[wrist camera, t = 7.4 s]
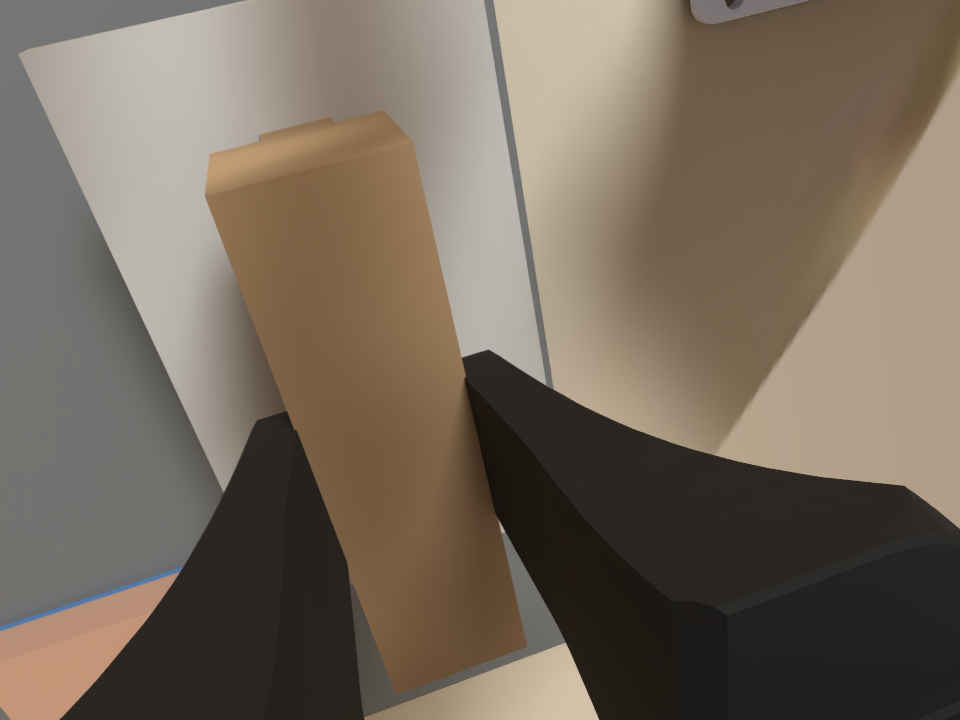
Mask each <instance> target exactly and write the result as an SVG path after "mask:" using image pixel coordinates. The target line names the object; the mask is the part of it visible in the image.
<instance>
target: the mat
mask: <svg viewBox="0 0 960 720" xmlns="http://www.w3.org/2000/svg"><path fill="white" fill-rule="evenodd" d="M241 1H245V0H0V627H1V626H4V625H7V624H10V623H14V622H17V621H20V620H23V619H26V618H29V617H32V616H35V615H38V614H41V613H44V612H47V611H50V610H53V609H56V608H59V607H62V606H65V605H68V604H71V603H74V602H77V601H80V600H83V599H86V598H89V597H92V596H96V595H99V594H102V593H105V592H108V591H111V590H114V589H117V588H120V587H123V586H126V585H129V584H132V583H135V582H138V581H141V580H144V579H147V578H150V577H153V576H156V575H159V574H162V573H165V572H168V571H171V570H174V569H178V568H181V567H183V566H184V565H185V563H186V562H187V560H188V558H189V556H190V555H191V553H192V551H193V549H194V548H195V546H196V544H197V542H198V541H199V539H200V537H201V535H202V534H203V532H204V530H205V528H206V527H207V525H208V523H209V521H210V519H211V517H212V516H213V514H214V512H215V510H216V508H217V506H218V504H219V501H220V499H221V497H222V495H223V493H224V492H223V490H222V488H221V486H220V484H219V482H218V479H217V477H216V475H215V473H214V471H213V469H212V467H211V465H210V462H209V460H208V458H207V456H206V454H205V452H204V450H203V447H202V445H201V443H200V441H199V439H198V437H197V435H196V433H195V430H194V428H193V426H192V424H191V422H190V420H189V418H188V415H187V413H186V411H185V409H184V407H183V405H182V403H181V401H180V398H179V396H178V394H177V392H176V390H175V388H174V386H173V383H172V381H171V379H170V377H169V375H168V373H167V371H166V368H165V366H164V364H163V362H162V360H161V358H160V356H159V354H158V351H157V349H156V347H155V345H154V343H153V341H152V339H151V336H150V334H149V332H148V330H147V328H146V326H145V324H144V322H143V319H142V317H141V315H140V313H139V311H138V309H137V307H136V304H135V302H134V300H133V298H132V296H131V294H130V292H129V290H128V287H127V285H126V283H125V281H124V279H123V277H122V275H121V272H120V270H119V268H118V266H117V264H116V262H115V260H114V258H113V255H112V253H111V251H110V249H109V247H108V245H107V243H106V240H105V238H104V236H103V234H102V232H101V230H100V228H99V225H98V223H97V221H96V219H95V217H94V215H93V213H92V211H91V208H90V206H89V204H88V202H87V200H86V198H85V196H84V193H83V191H82V189H81V187H80V185H79V183H78V181H77V179H76V176H75V174H74V172H73V170H72V168H71V166H70V164H69V161H68V159H67V157H66V155H65V153H64V151H63V149H62V147H61V144H60V142H59V140H58V138H57V136H56V134H55V132H54V129H53V127H52V125H51V123H50V121H49V119H48V117H47V115H46V112H45V110H44V108H43V106H42V104H41V102H40V100H39V97H38V95H37V93H36V91H35V89H34V87H33V85H32V82H31V80H30V78H29V76H28V74H27V72H26V70H25V68H24V65H23V63H22V61H21V59H20V57H19V55H18V54H19V53H21V52H23V51H25V50H27V49H31V48H36V47H40V46H45V45H49V44H54V43H58V42H62V41H67V40H71V39H76V38H80V37H85V36H89V35H94V34H98V33H103V32H107V31H112V30H116V29H121V28H125V27H129V26H134V25H138V24H143V23H147V22H152V21H156V20H161V19H165V18H170V17H174V16H179V15H183V14H187V13H192V12H196V11H201V10H205V9H210V8H214V7H219V6H223V5H228V4H232V3H237V2H241ZM484 4H485V10H486V16H487V22H488V28H489V34H490V41H491V47H492V53H493V59H494V65H495V71H496V77H497V84H498V90H499V96H500V102H501V108H502V114H503V121H504V127H505V133H506V139H507V145H508V151H509V157H510V164H511V170H512V176H513V182H514V188H515V194H516V200H517V207H518V213H519V219H520V225H521V231H522V237H523V244H524V250H525V256H526V262H527V268H528V274H529V280H530V287H531V293H532V299H533V305H534V311H535V317H536V324H537V330H538V336H539V342H540V348H541V354H542V360H543V367H544V373H545V379H546V385H547V386H548V387H550V388H551V389H553V383H552V376H551V370H550V363H549V357H548V351H547V344H546V338H545V331H544V325H543V318H542V312H541V305H540V299H539V293H538V286H537V280H536V273H535V267H534V260H533V254H532V247H531V241H530V234H529V228H528V222H527V215H526V209H525V202H524V196H523V189H522V183H521V176H520V170H519V164H518V157H517V151H516V144H515V138H514V131H513V125H512V118H511V112H510V105H509V99H508V93H507V86H506V80H505V73H504V67H503V60H502V54H501V47H500V41H499V35H498V28H497V22H496V15H495V9H494V2H493V0H484ZM553 390H554V389H553ZM502 537H503V542H504V546H505V551H506V555H507V559H508V564H509V568H510V573H511V577H512V581H513V586H514V590H515V595H516V599H517V603H518V608H519V612H520V617H521V621H522V625H523V630H524V634H525V639H526V643H527V647H525V648H523V649H520V650H517V651H515V652H512V653H509V654H506V655H504V656H501V657H498V658H496V659H493V660H490V661H487V662H485V663H482V664H479V665H477V666H474V667H471V668H468V669H466V670H463V671H460V672H458V673H455V674H452V675H449V676H447V677H444V678H441V679H439V680H436V681H433V682H430V683H428V684H425V685H422V686H420V687H417V688H414V689H412V690H409V691H406V692H403V693H401V694H398V695H396V694H395V691H394V689H393V686H392V683H391V681H390V678H389V676H388V673H387V670H386V668H385V665H384V663H383V660H382V657H381V655H380V652H379V650H378V647H377V644H376V642H375V639H374V636H373V634H372V631H371V629H370V626H369V623H368V621H367V618H366V616H365V613H364V610H363V608H362V605H361V603H360V600H359V597H358V595H357V592H356V590H355V587H354V584H353V585H350V590H351V600H352V610H353V621H354V631H355V641H356V652H357V662H358V672H359V683H360V693H361V701H362V708H363V715H364V717H366V716H369V715H371V714H374V713H377V712H379V711H382V710H385V709H387V708H390V707H393V706H396V705H398V704H401V703H404V702H406V701H409V700H412V699H414V698H417V697H420V696H423V695H425V694H428V693H431V692H433V691H436V690H439V689H441V688H444V687H447V686H449V685H452V684H455V683H458V682H460V681H463V680H466V679H468V678H471V677H474V676H476V675H479V674H482V673H485V672H487V671H490V670H493V669H495V668H498V667H501V666H503V665H506V664H509V663H511V662H514V661H517V660H520V659H522V658H525V657H528V656H530V655H533V654H536V653H538V652H541V651H544V650H547V649H549V648H552V647H555V646H557V645H560V644H563V643H565V640H564V638H563V636H562V634H561V632H560V630H559V628H558V626H557V624H556V622H555V620H554V618H553V617H552V615H551V613H550V611H549V610H548V608H547V606H546V604H545V602H544V601H543V599H542V597H541V595H540V593H539V592H538V590H537V588H536V586H535V584H534V583H533V581H532V579H531V577H530V576H529V574H528V572H527V570H526V568H525V567H524V565H523V563H522V561H521V559H520V558H519V556H518V554H517V552H516V550H515V549H514V547H513V545H512V543H511V541H510V540H509V538H508V536H507V534H506V532H504V533H502ZM0 720H11V719H10V718H9V717H8V716H7V714H6V713H5V712H4V711H3V710H2V708H1V707H0Z"/></svg>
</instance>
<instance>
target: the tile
mask: <svg viewBox="0 0 960 720" xmlns="http://www.w3.org/2000/svg"><path fill="white" fill-rule="evenodd" d="M182 568H183V567H181V568H178V569H174V570H171V571H168V572H165V573H162V574H159V575H156V576H153V577H150V578H147V579H144V580H141V581H138V582H135V583H132V584H129V585H126V586H123V587H120V588H117V589H114V590H111V591H108V592H105V593H102V594H99V595H96V596H92V597H89V598H86V599H83V600H80V601H77V602H74V603H71V604H68V605H65V606H62V607H59V608H56V609H53V610H50V611H47V612H44V613H41V614H38V615H35V616H32V617H29V618H26V619H23V620H20V621H17V622H14V623H10V624H7V625H4V626H1V627H0V707H1V708H2V710H3V711H4V712H5V713H6V714H7V716H8V717H9V718H10V719H11V720H59V719H60V718H61V717H62V716H63V715H64V714H65V713H66V712H67V711H68V710H69V709H70V708H71V707H72V706H73V705H74V704H75V703H76V702H77V701H78V700H79V698H80V697H81V696H82V695H83V694H84V693H85V692H86V691H87V690H88V689H89V688H90V687H91V686H92V684H93V683H94V682H95V681H96V680H97V679H98V678H99V677H100V675H101V674H102V673H103V672H104V671H105V669H106V668H107V667H108V666H109V665H110V663H111V662H112V661H113V660H114V659H115V657H116V656H117V655H118V654H119V653H120V651H121V650H122V649H123V648H124V647H125V645H126V644H127V643H128V642H129V641H130V639H131V638H132V637H133V636H134V635H135V633H136V632H137V631H138V630H139V629H140V627H141V626H142V625H143V624H144V622H145V621H146V620H147V618H148V617H149V616H150V615H151V613H152V612H153V610H154V609H155V608H156V606H157V605H158V603H159V602H160V601H161V599H162V598H163V596H164V595H165V594H166V592H167V591H168V589H169V588H170V587H171V585H172V584H173V582H174V581H175V579H176V578H177V576H178V574H179V573H180V571H181V570H182Z"/></svg>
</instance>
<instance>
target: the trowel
mask: <svg viewBox="0 0 960 720" xmlns="http://www.w3.org/2000/svg"><path fill="white" fill-rule="evenodd" d="M18 55H19V57H20V59H21V61H22V63H23V65H24V68H25V70H26V72H27V74H28V76H29V78H30V80H31V82H32V85H33V87H34V89H35V91H36V93H37V95H38V97H39V100H40V102H41V104H42V106H43V108H44V110H45V112H46V115H47V117H48V119H49V121H50V123H51V125H52V127H53V129H54V132H55V134H56V136H57V138H58V140H59V142H60V144H61V147H62V149H63V151H64V153H65V155H66V157H67V159H68V161H69V164H70V166H71V168H72V170H73V172H74V174H75V176H76V179H77V181H78V183H79V185H80V187H81V189H82V191H83V193H84V196H85V198H86V200H87V202H88V204H89V206H90V208H91V211H92V213H93V215H94V217H95V219H96V221H97V223H98V225H99V228H100V230H101V232H102V234H103V236H104V238H105V240H106V243H107V245H108V247H109V249H110V251H111V253H112V255H113V258H114V260H115V262H116V264H117V266H118V268H119V270H120V272H121V275H122V277H123V279H124V281H125V283H126V285H127V287H128V290H129V292H130V294H131V296H132V298H133V300H134V302H135V304H136V307H137V309H138V311H139V313H140V315H141V317H142V319H143V322H144V324H145V326H146V328H147V330H148V332H149V334H150V336H151V339H152V341H153V343H154V345H155V347H156V349H157V351H158V354H159V356H160V358H161V360H162V362H163V364H164V366H165V368H166V371H167V373H168V375H169V377H170V379H171V381H172V383H173V386H174V388H175V390H176V392H177V394H178V396H179V398H180V401H181V403H182V405H183V407H184V409H185V411H186V413H187V415H188V418H189V420H190V422H191V424H192V426H193V428H194V430H195V433H196V435H197V437H198V439H199V441H200V443H201V445H202V447H203V450H204V452H205V454H206V456H207V458H208V460H209V462H210V465H211V467H212V469H213V471H214V473H215V475H216V477H217V479H218V482H219V484H220V486H221V488H222V490H223V492H224V491H225V489H226V487H227V485H228V483H229V481H230V479H231V477H232V474H233V472H234V470H235V468H236V466H237V463H238V461H239V459H240V456H241V454H242V452H243V449H244V447H245V445H246V442H247V440H248V437H249V435H250V432H251V430H252V428H253V426H254V425H255V423H256V421H257V420H259V419H262V418H266V417H269V416H272V415H275V414H279V413H282V412H285V411H287V412H288V415H289V417H290V420H291V423H292V425H293V428H294V430H297V432H298V435H299V437H300V440H301V443H302V445H303V448H304V451H305V453H306V456H307V458H308V461H309V464H310V466H311V469H312V472H313V474H314V477H315V479H316V482H317V485H318V487H319V490H320V493H321V495H322V498H323V500H324V503H325V506H326V508H327V511H328V514H329V516H330V519H331V521H332V524H333V527H334V529H335V532H336V535H337V537H338V540H339V542H340V545H341V548H342V550H343V553H344V555H345V558H346V561H347V563H348V571H349V581H350V585H353V584H354V587H355V590H356V592H357V595H358V597H359V600H360V603H361V605H362V608H363V610H364V613H365V616H366V618H367V621H368V623H369V626H370V629H371V631H372V634H373V636H374V639H375V642H376V644H377V647H378V650H379V652H380V655H381V657H382V660H383V663H384V665H385V668H386V670H387V673H388V676H389V678H390V681H391V683H392V686H393V689H394V691H395V694H396V695H398V694H401V693H403V692H406V691H409V690H412V689H414V688H417V687H420V686H422V685H425V684H428V683H430V682H433V681H436V680H439V679H441V678H444V677H447V676H449V675H452V674H455V673H458V672H460V671H463V670H466V669H468V668H471V667H474V666H477V665H479V664H482V663H485V662H487V661H490V660H493V659H496V658H498V657H501V656H504V655H506V654H509V653H512V652H515V651H517V650H520V649H523V648H525V647H527V643H526V639H525V634H524V630H523V625H522V621H521V617H520V612H519V608H518V603H517V599H516V595H515V590H514V586H513V581H512V577H511V573H510V568H509V564H508V559H507V555H506V551H505V546H504V542H503V537H502V533H504V532H505V531H504V529H503V527H502V525H501V523H500V521H499V520H498V518H497V516H496V514H495V510H494V506H493V501H492V497H491V492H490V488H489V484H488V479H487V475H486V471H485V466H484V462H483V457H482V453H481V449H480V444H479V440H478V435H477V431H476V427H475V422H474V418H473V414H472V409H471V405H470V400H469V396H468V392H467V387H466V383H465V379H464V378H465V377H466V374H465V370H464V365H463V361H462V357H465V356H469V355H472V354H475V353H478V352H482V351H485V350H488V349H489V350H491V351H492V352H494V353H496V354H497V355H499V356H501V357H502V358H504V359H505V360H507V361H508V362H510V363H511V364H513V365H514V366H516V367H517V368H519V369H521V370H522V371H524V372H525V373H527V374H528V375H530V376H532V377H533V378H535V379H536V380H538V381H540V382H541V383H543V384H545V385H546V379H545V373H544V367H543V360H542V354H541V348H540V342H539V336H538V330H537V324H536V317H535V311H534V305H533V299H532V293H531V287H530V280H529V274H528V268H527V262H526V256H525V250H524V244H523V237H522V231H521V225H520V219H519V213H518V207H517V200H516V194H515V188H514V182H513V176H512V170H511V164H510V157H509V151H508V145H507V139H506V133H505V127H504V121H503V114H502V108H501V102H500V96H499V90H498V84H497V77H496V71H495V65H494V59H493V53H492V47H491V41H490V34H489V28H488V22H487V16H486V10H485V4H484V0H245V1H241V2H237V3H232V4H228V5H223V6H219V7H214V8H210V9H205V10H201V11H196V12H192V13H187V14H183V15H179V16H174V17H170V18H165V19H161V20H156V21H152V22H147V23H143V24H138V25H134V26H129V27H125V28H121V29H116V30H112V31H107V32H103V33H98V34H94V35H89V36H85V37H80V38H76V39H71V40H67V41H62V42H58V43H54V44H49V45H45V46H40V47H36V48H31V49H27V50H25V51H23V52H21V53H19V54H18ZM546 386H547V385H546Z"/></svg>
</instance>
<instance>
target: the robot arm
mask: <svg viewBox="0 0 960 720" xmlns="http://www.w3.org/2000/svg"><path fill="white" fill-rule="evenodd" d="M806 1H809V0H734V2H733V3H732V5H731V6H729V7H727V6H726V2H725V0H690V7H691V11H692V15H693V16H694V17H695V19H696V20H697V21H699V22H701V23H705V24H718V23H722V22H726V21H730V20H734V19H738V18H742V17H746V16H750V15H754V14H758V13H762V12H766V11H770V10H774V9H778V8H782V7H786V6H790V5H794V4H798V3H802V2H806ZM462 361H463V365H464V370H465V374H466V377H465V378H464V379H465V383H466V387H467V392H468V396H469V400H470V405H471V409H472V414H473V418H474V422H475V427H476V431H477V435H478V440H479V444H480V449H481V453H482V457H483V462H484V466H485V471H486V475H487V479H488V484H489V488H490V492H491V497H492V501H493V506H494V510H495V514H496V516H497V518H498V520H499V521H500V523H501V525H502V527H503V529H504V531H505V532H506V534H507V536H508V538H509V540H510V541H511V543H512V545H513V547H514V549H515V550H516V552H517V554H518V556H519V558H520V559H521V561H522V563H523V565H524V567H525V568H526V570H527V572H528V574H529V576H530V577H531V579H532V581H533V583H534V584H535V586H536V588H537V590H538V592H539V593H540V595H541V597H542V599H543V601H544V602H545V604H546V606H547V608H548V610H549V611H550V613H551V615H552V617H553V618H554V620H555V622H556V624H557V626H558V628H559V630H560V632H561V634H562V636H563V638H564V640H565V642H566V644H567V646H568V648H569V650H570V652H571V655H572V657H573V659H574V662H575V664H576V666H577V669H578V671H579V673H580V676H581V678H582V680H583V683H584V685H585V687H586V689H587V692H588V694H589V696H590V699H591V701H592V703H593V706H594V708H595V710H596V713H597V715H598V718H599V720H960V529H959V528H958V527H957V526H955V525H954V524H953V523H952V522H951V521H950V520H948V519H947V518H946V517H945V516H944V515H942V514H941V513H940V512H939V511H938V510H936V509H935V508H933V507H932V506H931V505H930V504H928V503H927V502H926V501H924V500H923V499H921V498H920V497H919V496H918V495H916V494H915V493H913V492H912V491H910V490H909V489H908V488H906V487H905V486H900V485H891V484H881V483H871V482H862V481H853V480H843V479H834V478H824V477H817V476H810V475H805V474H799V473H793V472H788V471H782V470H776V469H770V468H765V467H761V466H756V465H751V464H746V463H742V462H737V461H733V460H730V459H726V458H722V457H718V456H715V455H711V454H707V453H703V452H700V451H696V450H692V449H689V448H686V447H683V446H680V445H676V444H673V443H670V442H667V441H665V440H662V439H659V438H656V437H654V436H651V435H648V434H645V433H643V432H640V431H637V430H635V429H632V428H630V427H627V426H625V425H623V424H620V423H618V422H616V421H613V420H611V419H609V418H607V417H605V416H603V415H601V414H598V413H596V412H594V411H592V410H590V409H588V408H586V407H584V406H582V405H580V404H578V403H576V402H575V401H573V400H571V399H569V398H567V397H566V396H564V395H562V394H560V393H559V392H557V391H555V390H553V389H551V388H550V387H548V386H546V385H545V384H543V383H541V382H540V381H538V380H536V379H535V378H533V377H532V376H530V375H528V374H527V373H525V372H524V371H522V370H521V369H519V368H517V367H516V366H514V365H513V364H511V363H510V362H508V361H507V360H505V359H504V358H502V357H501V356H499V355H497V354H496V353H494V352H492V351H491V350H489V349H488V350H485V351H482V352H478V353H475V354H472V355H469V356H465V357H462ZM59 720H364V715H363V708H362V701H361V693H360V683H359V672H358V662H357V652H356V641H355V631H354V621H353V610H352V600H351V590H350V581H349V571H348V563H347V561H346V558H345V555H344V553H343V550H342V548H341V545H340V542H339V540H338V537H337V535H336V532H335V529H334V527H333V524H332V521H331V519H330V516H329V514H328V511H327V508H326V506H325V503H324V500H323V498H322V495H321V493H320V490H319V487H318V485H317V482H316V479H315V477H314V474H313V472H312V469H311V466H310V464H309V461H308V458H307V456H306V453H305V451H304V448H303V445H302V443H301V440H300V437H299V435H298V432H297V430H294V428H293V425H292V423H291V420H290V417H289V415H288V412H287V411H285V412H282V413H279V414H275V415H272V416H269V417H266V418H262V419H259V420H257V421H256V423H255V425H254V426H253V428H252V430H251V432H250V435H249V437H248V440H247V442H246V445H245V447H244V449H243V452H242V454H241V456H240V459H239V461H238V463H237V466H236V468H235V470H234V472H233V474H232V477H231V479H230V481H229V483H228V485H227V487H226V489H225V491H224V493H223V495H222V497H221V499H220V501H219V504H218V506H217V508H216V510H215V512H214V514H213V516H212V517H211V519H210V521H209V523H208V525H207V527H206V528H205V530H204V532H203V534H202V535H201V537H200V539H199V541H198V542H197V544H196V546H195V548H194V549H193V551H192V553H191V555H190V556H189V558H188V560H187V562H186V563H185V565H184V566H183V568H182V570H181V571H180V573H179V574H178V576H177V578H176V579H175V581H174V582H173V584H172V585H171V587H170V588H169V589H168V591H167V592H166V594H165V595H164V596H163V598H162V599H161V601H160V602H159V603H158V605H157V606H156V608H155V609H154V610H153V612H152V613H151V615H150V616H149V617H148V618H147V620H146V621H145V622H144V624H143V625H142V626H141V627H140V629H139V630H138V631H137V632H136V633H135V635H134V636H133V637H132V638H131V639H130V641H129V642H128V643H127V644H126V645H125V647H124V648H123V649H122V650H121V651H120V653H119V654H118V655H117V656H116V657H115V659H114V660H113V661H112V662H111V663H110V665H109V666H108V667H107V668H106V669H105V671H104V672H103V673H102V674H101V675H100V677H99V678H98V679H97V680H96V681H95V682H94V683H93V684H92V686H91V687H90V688H89V689H88V690H87V691H86V692H85V693H84V694H83V695H82V696H81V697H80V698H79V700H78V701H77V702H76V703H75V704H74V705H73V706H72V707H71V708H70V709H69V710H68V711H67V712H66V713H65V714H64V715H63V716H62V717H61V718H60V719H59Z"/></svg>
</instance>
